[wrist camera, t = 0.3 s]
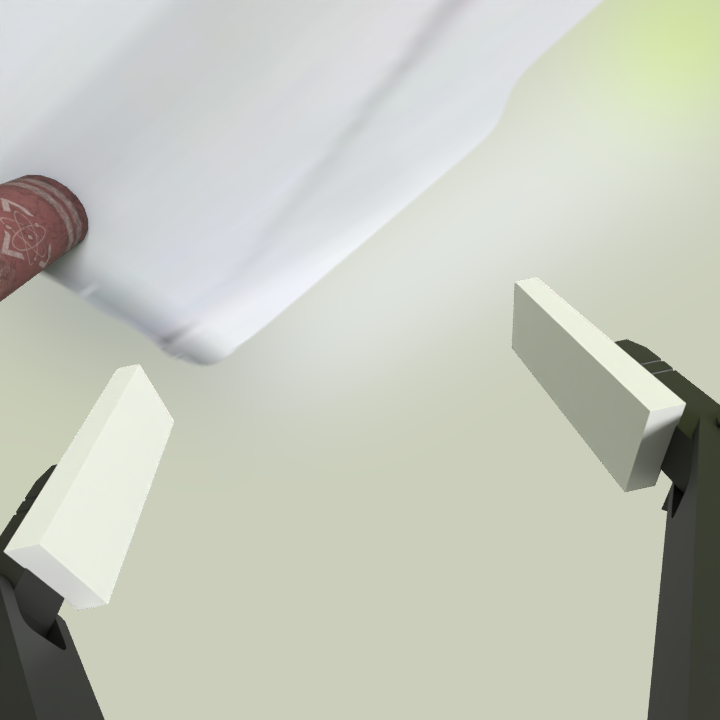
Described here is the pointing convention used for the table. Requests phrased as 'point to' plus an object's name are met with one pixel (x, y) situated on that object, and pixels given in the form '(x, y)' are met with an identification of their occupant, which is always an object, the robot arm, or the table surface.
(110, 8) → the table surface
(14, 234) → the can
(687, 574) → the robot arm
